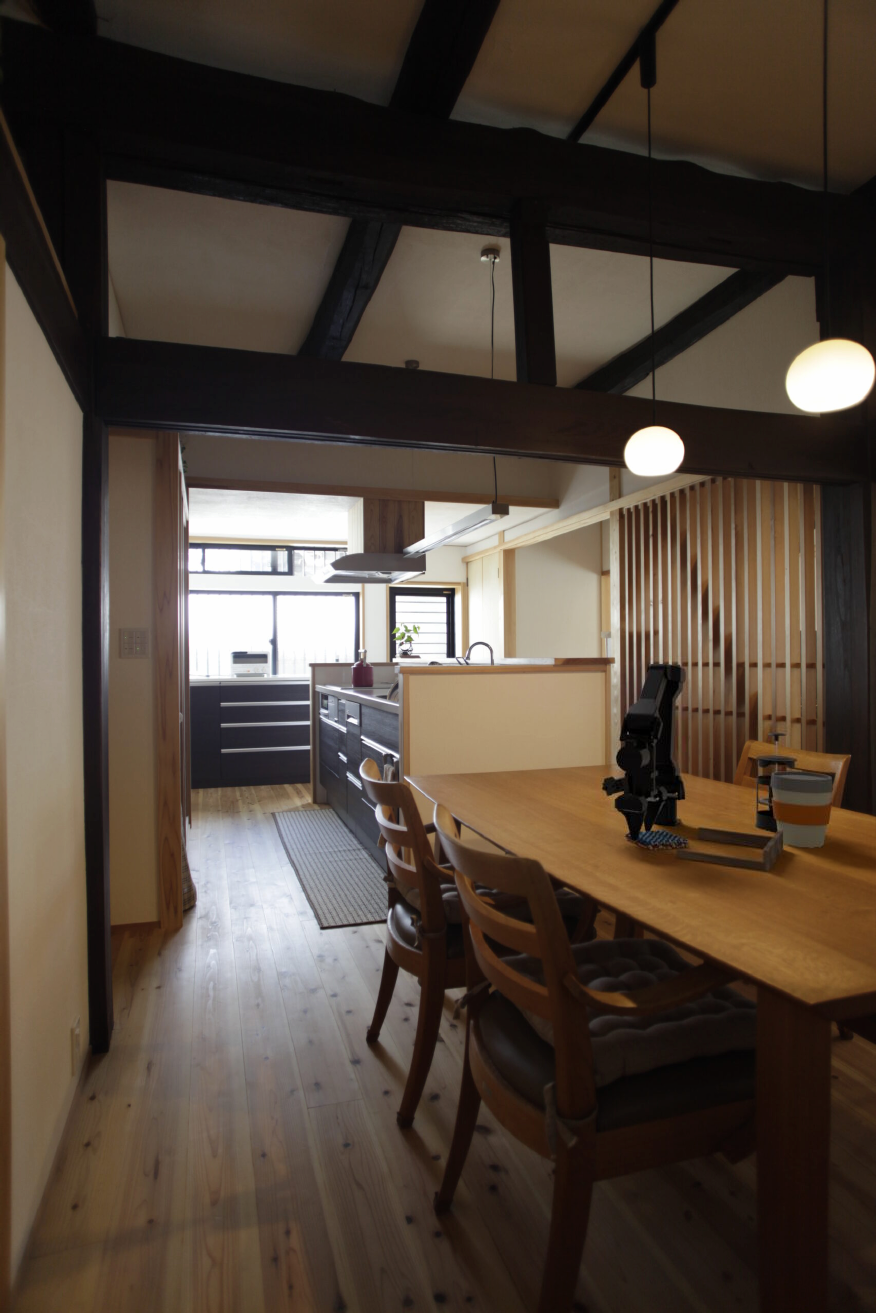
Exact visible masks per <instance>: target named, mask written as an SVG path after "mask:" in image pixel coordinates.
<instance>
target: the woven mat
mask: <svg viewBox="0 0 876 1313" xmlns="http://www.w3.org/2000/svg"><path fill="white" fill-rule="evenodd" d="M624 837H625V838H626V840H628V841H630V842H631V843H633V844H637V845H638V846H640V847H642V848H645V849H646V850H650V851H651V850H655V851H656V850H662V849H663V850H666V849H668V850H672V849H676V847H677V849H680V848H682V847H683V848H689V846H688V845H689V844H690V842H688V840H687V839H686V838H683V837H682V836H678V835H677V834H673V833H672V832H671V833H670V832H669V831H666V830H665V829H662V830H661V829H659V830H658V829H657V830H651V831H642V830H640V833H639V836H638V838H637V840H632V839H631V835H630V832H627V833H625V835H624Z"/></svg>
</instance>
